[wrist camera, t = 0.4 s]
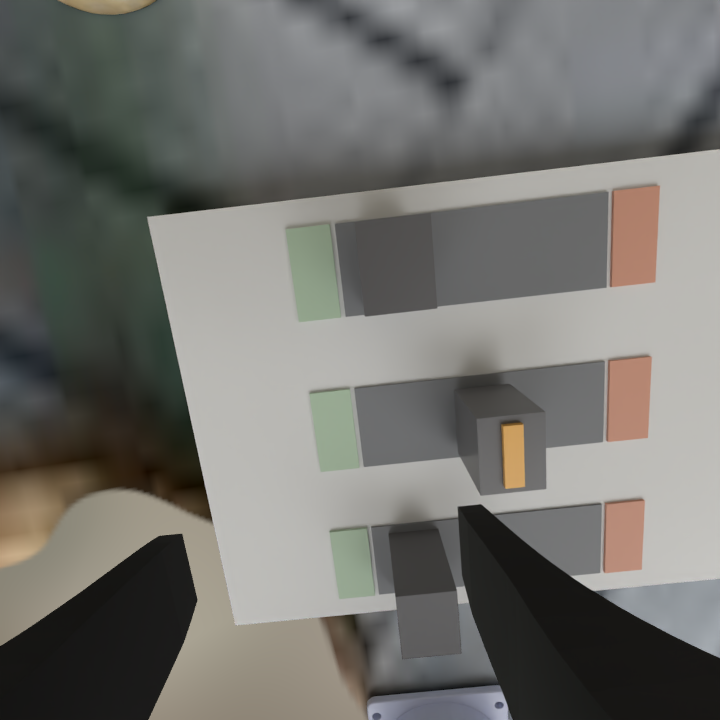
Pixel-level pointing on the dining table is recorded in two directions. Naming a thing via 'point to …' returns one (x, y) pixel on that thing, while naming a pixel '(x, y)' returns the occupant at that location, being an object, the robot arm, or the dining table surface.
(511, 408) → the breaker
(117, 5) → the hand bell
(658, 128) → the dining table surface
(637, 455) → the panel
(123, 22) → the dining table surface
